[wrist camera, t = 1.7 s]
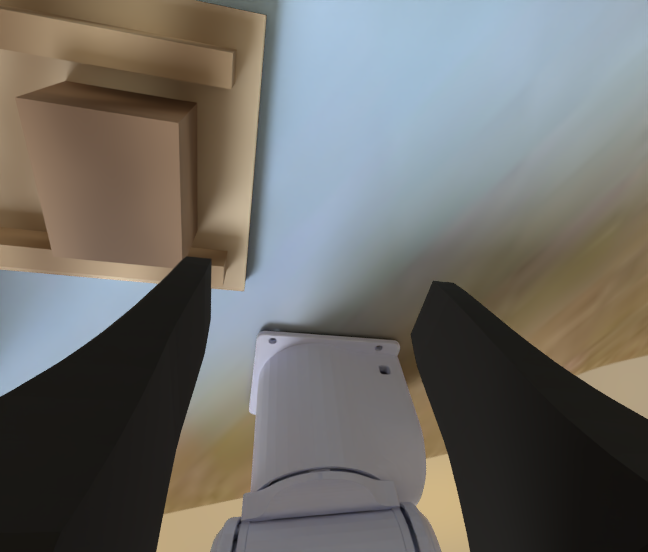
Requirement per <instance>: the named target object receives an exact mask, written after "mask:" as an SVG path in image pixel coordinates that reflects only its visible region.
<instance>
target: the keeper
mask: <svg viewBox="0 0 648 552" xmlns="http://www.w3.org/2000/svg"><path fill="white" fill-rule="evenodd" d="M15 100H16V104H17V108H18V112H19V117H20V121H21V125H22V129H23V133H24V137H25V141H26V146H27V150H28V154H29V158H30V162H31V166H32V171H33V175H34V179H35V183H36V187H37V191H38V196H39V200H40V204H41V208H42V212H43V216H44V220H45V225H46V229H47V233H48V237H49V241H50V245H51V250H52V254H53V257H61V258H72V259H82V260H92V261H103V262H113V263H123V264H134V265H144V266H154V267H165V268H174V267H175V266H176V265H177V264H178V263H179V262H180V261H181V260H182V259H183V258H185V257H186V256H188V254H189V251H190V249H191V246H192V244H193V241H194V238H195V236H196V233H197V231H198V211H197V103H195V102H189V101H183V100H177V99H171V98H165V97H159V96H153V95H147V94H141V93H135V92H129V91H123V90H117V89H111V88H105V87H99V86H93V85H87V84H81V83H75V82H69V81H63V82H60V83H57V84H54V85H51V86H48V87H45V88H42V89H39V90H36V91H33V92H30V93H27V94H24V95H21V96H18V97H15Z"/></svg>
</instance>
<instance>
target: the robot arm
mask: <svg viewBox="0 0 648 552" xmlns="http://www.w3.org/2000/svg"><path fill="white" fill-rule="evenodd" d="M211 267H212V259H209V258H199V257H189V256H186V257H185V258H183V259H182V260H181V261H180V262H179V263H178V264H177V265H176V266H175V267H174V268H173V270H172V271H171V272H170V273H169V274H168V275H167V276H166V277H165V278H164V279H163V280H162V281H161V282H160V283H159V284H158V285H157V286H155V287H154V288H153V289H152V290H151V291H150V292H149V293H148V294H147V295H146V296H145V297H144V298H142V299H141V300H140V301H139V302H138V303H137V304H136V305H135V306H134V307H132V308H131V309H130V310H129V311H128V312H126V313H125V314H124V315H123V316H122V317H120V318H119V319H118V320H117V321H115V322H114V323H113V324H112V325H111V326H109V327H108V328H107V329H106V330H104V331H103V332H102V333H100V334H99V335H98V336H96V337H95V338H94V339H92V340H91V341H89V342H88V343H87V344H85V345H84V346H82V347H81V348H80V349H78V350H77V351H75V352H74V353H72V354H71V355H69V356H68V357H66V358H65V359H63V360H62V361H60V362H59V363H57V364H55V365H54V366H52V367H51V368H49V369H47V370H46V371H44V372H42V373H41V374H39V375H37V376H35V377H34V378H32V379H30V380H29V381H27V382H25V383H24V384H22V385H20V386H19V387H17V388H15V389H14V390H12V391H10V392H8V393H6V394H5V395H3V396H1V397H0V552H156V549H157V544H158V539H159V533H160V528H161V523H162V518H163V513H164V508H165V502H166V497H167V492H168V487H169V482H170V477H171V472H172V467H173V463H174V458H175V453H176V449H177V445H178V441H179V437H180V433H181V430H182V426H183V423H184V420H185V417H186V413H187V410H188V407H189V404H190V400H191V397H192V394H193V390H194V387H195V384H196V381H197V377H198V374H199V371H200V367H201V364H202V361H203V357H204V354H205V349H206V343H207V338H208V332H209V326H210V320H211ZM270 338H275V339H274V340H272V339H270ZM411 339H412V344H413V349H414V354H415V359H416V363H417V367H418V370H419V373H420V376H421V379H422V382H423V385H424V387H425V390H426V393H427V396H428V398H429V401H430V404H431V407H432V409H433V412H434V415H435V418H436V420H437V423H438V426H439V429H440V431H441V434H442V437H443V440H444V443H445V446H446V449H447V452H448V455H449V459H450V463H451V467H452V471H453V475H454V479H455V483H456V487H457V491H458V496H459V500H460V505H461V509H462V514H463V518H464V523H465V527H466V531H467V537H468V542H469V548H470V552H648V419H646V418H644V417H643V416H641V415H639V414H638V413H636V412H634V411H632V410H631V409H629V408H627V407H625V406H624V405H622V404H620V403H618V402H616V401H615V400H613V399H611V398H610V397H608V396H606V395H605V394H603V393H601V392H600V391H598V390H596V389H595V388H593V387H592V386H590V385H589V384H587V383H586V382H584V381H583V380H581V379H580V378H578V377H577V376H575V375H573V374H572V373H570V372H569V371H567V370H566V369H564V368H563V367H562V366H560V365H559V364H557V363H556V362H554V361H553V360H552V359H550V358H549V357H548V356H546V355H545V354H544V353H542V352H541V351H540V350H538V349H537V348H536V347H534V346H533V345H531V344H530V343H529V342H528V341H526V340H525V339H524V338H522V337H521V336H520V335H519V334H517V333H516V332H515V331H514V330H512V329H511V328H510V327H509V326H507V325H506V324H505V323H504V322H502V321H501V320H500V319H499V318H498V317H496V316H495V315H494V314H493V313H492V312H490V311H489V310H488V309H487V308H485V307H484V306H483V305H482V304H481V303H479V302H478V301H477V300H476V299H474V298H473V297H472V296H471V295H469V294H468V293H467V292H466V291H464V290H463V289H462V288H460V287H459V286H457V285H456V284H454V283H449V282H439V281H433V282H432V285H431V287H430V290H429V292H428V294H427V297H426V299H425V302H424V304H423V306H422V309H421V311H420V314H419V316H418V318H417V321H416V323H415V325H414V328H413V330H412V333H411ZM379 345H380V346H379ZM376 346H379V347H376ZM399 351H400V345H399V342H397V341H395V340H384V339H371V338H357V337H343V336H330V335H316V334H303V333H289V332H275V331H261V332H259V333H258V335H257V341H256V350H255V359H254V368H253V377H252V386H251V395H250V404H249V412H250V413H252V414H255V415H256V421H255V436H254V450H253V465H252V479H251V493H245V494H244V495H243V506H242V518H241V517H233V518H230V519H228V520H227V521H226V523H225V524H224V527H223V528H222V529H221V530H220V531H219V533H218V534H217V535H216V537H215V539H214V541H213V544H212V547H211V551H210V552H441V549H440V546H439V543H438V540H437V538H436V535H435V533H434V531H433V529H432V526H431V524H430V523H429V521H428V519H427V518H426V517H425V516H424V515H423V514H422V513H421V512H420V511H419V510H418V509H417V507H416V505H417V504H418V502H419V500H420V498H421V495H422V492H423V489H424V484H425V476H426V456H425V446H424V439H423V434H422V430H421V427H420V423H419V420H418V417H417V414H416V411H415V408H414V405H413V402H412V399H411V396H410V393H409V390H408V387H407V383H406V380H405V377H404V374H403V371H402V368H401V365H400V362H399V359H398V353H399Z"/></svg>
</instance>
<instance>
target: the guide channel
mask: <svg viewBox="0 0 648 552" xmlns="http://www.w3.org/2000/svg"><path fill="white" fill-rule="evenodd" d="M266 19H267V15H264V14H259V13H254V12H249V11H245V10H240V9H235V8H230V7H225V6H221V5H216V4H211V3H206V2H202V1H197V0H0V269H1V270H12V271H23V272H34V273H45V274H57V275H68V276H79V277H90V278H101V279H112V280H123V281H135V282H146V283H157V284H159V283H160V282H161V281H162V280H163V279H164V278H165V277H166V276H167V275H168V274H169V273H170V272H171V271H172V270H173V268H165V267H154V266H144V265H134V264H123V263H113V262H103V261H92V260H82V259H72V258H61V257H53V254H52V250H51V245H50V241H49V237H48V233H47V229H46V225H45V220H44V216H43V212H42V208H41V204H40V200H39V196H38V191H37V187H36V183H35V179H34V175H33V171H32V166H31V162H30V158H29V154H28V150H27V146H26V141H25V137H24V133H23V129H22V125H21V121H20V117H19V112H18V108H17V104H16V100H15V97H18V96H21V95H24V94H27V93H30V92H33V91H36V90H39V89H42V88H45V87H48V86H51V85H54V84H57V83H60V82H63V81H69V82H75V83H81V84H87V85H93V86H99V87H105V88H111V89H117V90H123V91H129V92H135V93H141V94H147V95H153V96H159V97H165V98H171V99H177V100H183V101H189V102H195V103H197V211H198V231H197V233H196V236H195V238H194V241H193V244H192V246H191V249H190V251H189V254H188V256H189V257H199V258H209V259H212V267H211V288H213V289H224V290H235V291H244V288H245V281H246V268H247V256H248V243H249V231H250V218H251V206H252V193H253V181H254V168H255V156H256V143H257V131H258V119H259V106H260V94H261V81H262V69H263V56H264V44H265V31H266Z"/></svg>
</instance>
